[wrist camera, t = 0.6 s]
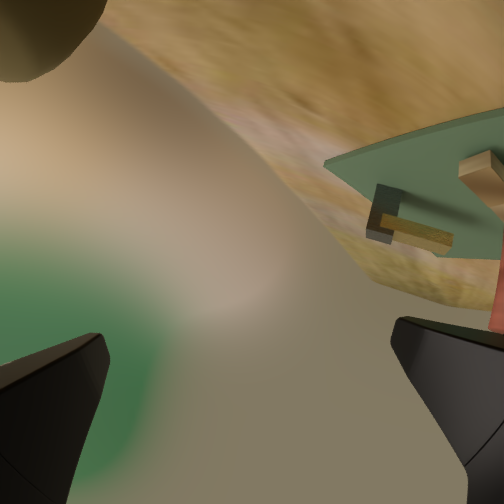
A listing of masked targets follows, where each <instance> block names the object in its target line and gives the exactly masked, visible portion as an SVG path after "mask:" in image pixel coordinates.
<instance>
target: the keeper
mask: <svg viewBox="0 0 504 504" xmlns="http://www.w3.org/2000/svg"><path fill="white" fill-rule="evenodd" d="M402 191H403V190H402V189H398V188H394V187H390V186H386V185H382V184H378V183H377V186H376V190H375V195H374V199H373V203H372V207H371V211H370V215H369V219H368V223H367V227H366V238H369V239H372V240H376V241H379V242H383V243H387V244H390V245H391V242H392V240H394V241H398V242H401V243H404V244H408V245H411V246H415V247H418V248H421V249H425V250H428V251H431V252H435V253H438V254H441V255H445V254H446V253H447V252H448V251H449V250H450V249H451V248H452V243H453V237H454V234H453V233H450V232H447V231H444V230H440V229H437V228H434V227H430V226H427V225H424V224H420V223H417V222H413V221H410V220H406V219H403V218H399V217H397V216H398V212H399V207H400V202H401V196H402Z"/></svg>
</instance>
